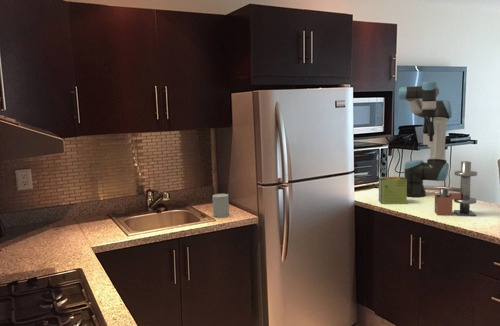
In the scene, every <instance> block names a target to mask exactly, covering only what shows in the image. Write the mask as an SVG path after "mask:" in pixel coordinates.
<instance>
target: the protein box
mask: <svg viewBox="0 0 500 326" xmlns="http://www.w3.org/2000/svg"><path fill="white" fill-rule="evenodd" d="M407 197H408V196H407V179H406V178H405V176H382V177H381V176H378V201H379V203H380V205H407V204H408V203H407V202H408V199H407Z"/></svg>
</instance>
